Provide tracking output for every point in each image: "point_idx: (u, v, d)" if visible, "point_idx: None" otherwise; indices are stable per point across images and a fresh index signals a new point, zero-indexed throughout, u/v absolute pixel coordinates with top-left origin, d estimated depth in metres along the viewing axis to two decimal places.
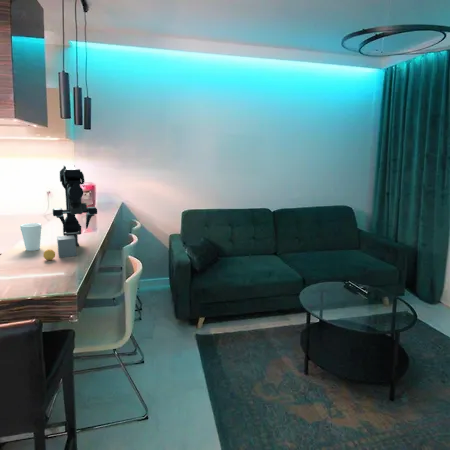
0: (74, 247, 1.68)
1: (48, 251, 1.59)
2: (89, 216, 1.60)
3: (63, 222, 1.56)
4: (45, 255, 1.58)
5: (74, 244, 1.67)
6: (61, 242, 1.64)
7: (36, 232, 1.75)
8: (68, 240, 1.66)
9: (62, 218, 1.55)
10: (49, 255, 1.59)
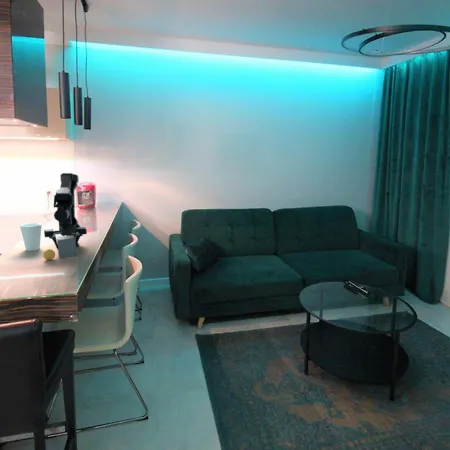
0: (74, 247, 1.68)
1: (48, 251, 1.59)
2: (78, 236, 1.69)
3: (55, 242, 1.66)
4: (45, 255, 1.58)
5: (74, 244, 1.67)
6: (61, 242, 1.64)
7: (36, 232, 1.75)
8: (68, 240, 1.66)
9: (54, 239, 1.64)
10: (49, 255, 1.59)
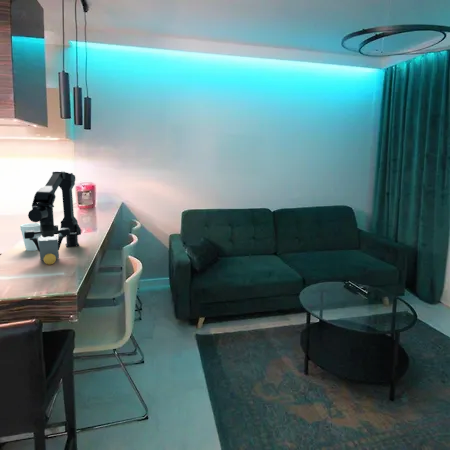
0: (56, 249, 1.58)
1: None
2: (60, 238, 1.60)
3: (36, 244, 1.56)
4: None
5: (56, 245, 1.58)
6: (43, 243, 1.55)
7: None
8: (50, 241, 1.57)
9: (35, 240, 1.55)
10: None
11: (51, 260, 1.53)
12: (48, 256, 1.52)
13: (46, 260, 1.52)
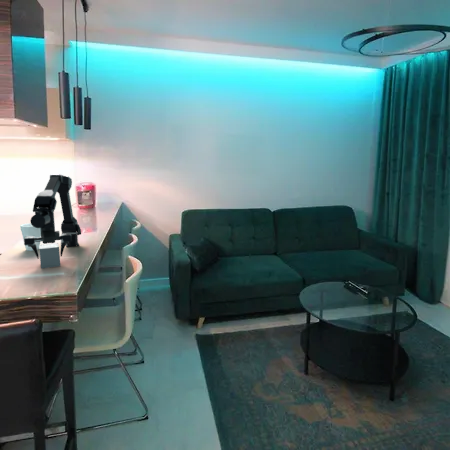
0: (58, 256, 1.52)
1: None
2: (63, 244, 1.53)
3: (35, 251, 1.49)
4: None
5: (58, 253, 1.51)
6: (43, 251, 1.48)
7: (36, 232, 1.75)
8: (51, 249, 1.50)
9: (34, 247, 1.48)
10: None
11: None
12: None
13: None
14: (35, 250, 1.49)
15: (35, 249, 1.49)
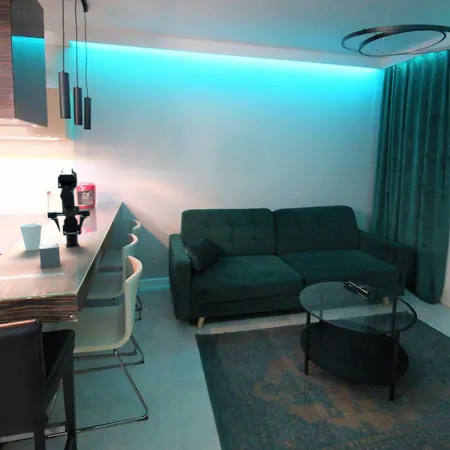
0: (58, 256, 1.52)
1: None
2: (82, 218, 1.68)
3: (57, 224, 1.65)
4: None
5: (58, 253, 1.51)
6: (43, 251, 1.48)
7: (36, 232, 1.75)
8: (51, 249, 1.50)
9: (56, 220, 1.63)
10: None
11: None
12: None
13: None
14: (57, 223, 1.64)
15: (57, 222, 1.64)
